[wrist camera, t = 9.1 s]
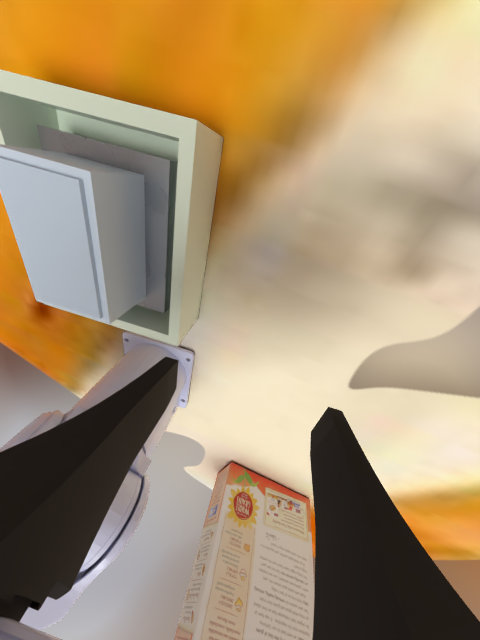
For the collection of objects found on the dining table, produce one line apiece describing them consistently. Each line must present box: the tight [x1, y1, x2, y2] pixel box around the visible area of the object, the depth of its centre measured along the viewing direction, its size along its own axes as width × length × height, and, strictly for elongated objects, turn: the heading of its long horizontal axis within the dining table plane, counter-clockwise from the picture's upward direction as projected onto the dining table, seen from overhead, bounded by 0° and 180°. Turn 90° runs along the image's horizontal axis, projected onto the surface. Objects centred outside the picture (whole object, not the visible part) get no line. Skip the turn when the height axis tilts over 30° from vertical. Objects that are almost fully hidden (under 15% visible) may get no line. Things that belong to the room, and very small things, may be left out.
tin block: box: [37, 125, 178, 313], centre depth 16 cm, size 10×8×2 cm
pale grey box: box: [0, 144, 146, 324], centre depth 13 cm, size 8×5×4 cm, turn 167°
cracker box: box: [174, 462, 314, 640], centre depth 27 cm, size 14×6×21 cm, turn 63°
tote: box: [0, 70, 224, 346], centre depth 16 cm, size 14×12×4 cm
